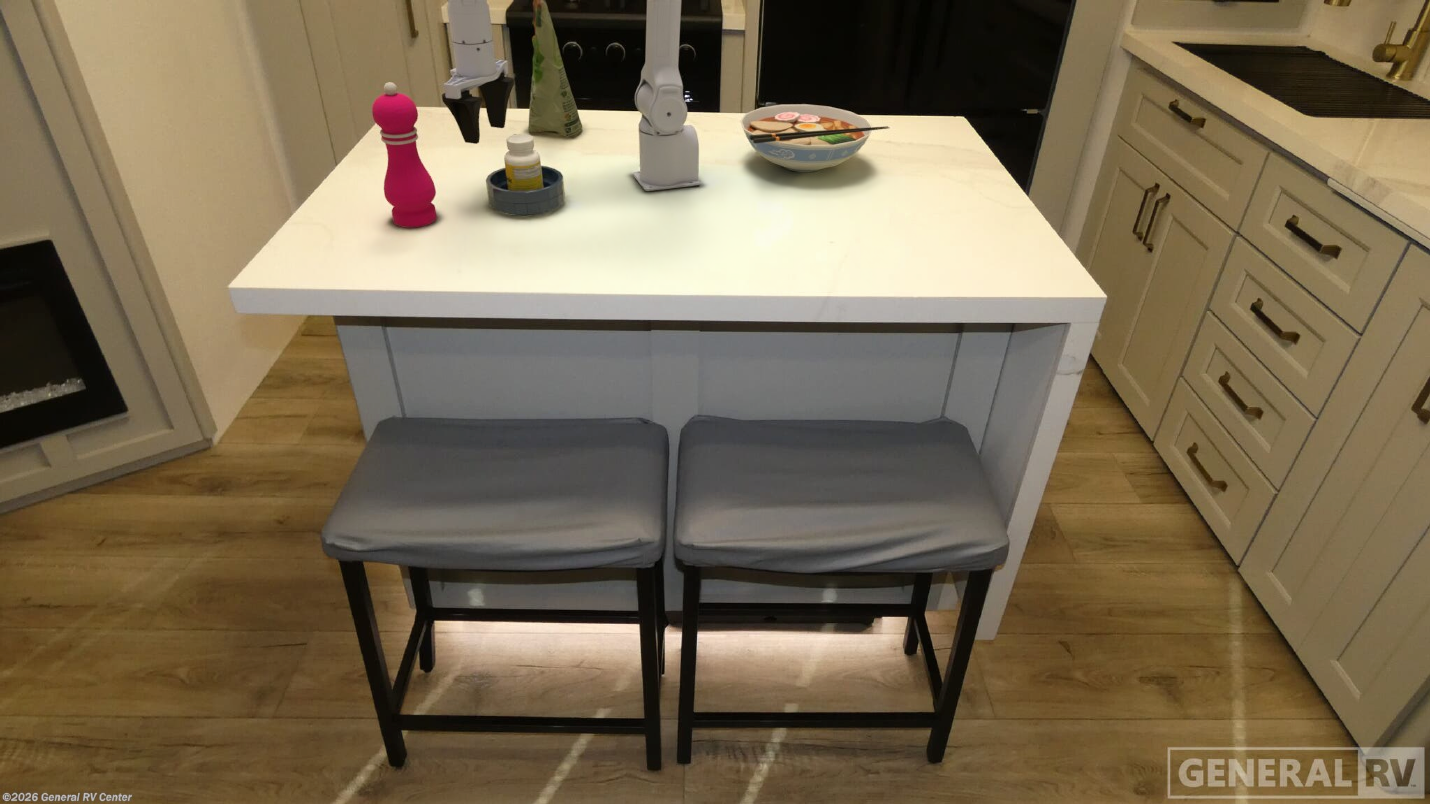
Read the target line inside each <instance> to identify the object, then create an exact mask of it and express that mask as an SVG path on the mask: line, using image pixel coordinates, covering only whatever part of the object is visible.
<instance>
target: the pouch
mask: <svg viewBox="0 0 1430 804" xmlns="http://www.w3.org/2000/svg"><path fill="white" fill-rule="evenodd" d="M532 11H533V18H532V22H531V24H532V25H533V27H534V35H533V36H532V37H531V41H532V47H533V55H532V59H531V60H532V76H531V82H530V83H531V85H530V86H531V87H530V100H529V108H528V109H529V110H528V112H529V113H528V127H527V128H528V129H527V130H528V132H529V133H535V132H536V133H537V132H542V133H550V134H556V135H557V134H559V135H562V136H563V137H571V136H574V135H577V134H579V133H580V132H581V131H582V129H583V124H582V120H581V118H580V115H579V111H578V107H577V105H576V101H575V98H574V95H573V92H572V90H571V85H570V83H569V79H568V77H567V73H566V70H565V66H564V62H563V59H562V56H561V51H560V48H559V43H558V37H557V35H556V31H555V29H554V24H553V21H552V18H551V14H550V12H549V8H548V4H547V1H546V0H533V1H532Z"/></svg>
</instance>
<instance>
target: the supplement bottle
mask: <svg viewBox="0 0 1430 804" xmlns="http://www.w3.org/2000/svg"><path fill="white" fill-rule="evenodd" d="M505 141H506V148H507V150H508V151H507V152H505V154H504V158H503V160H504V168H505V169H506V177H507V184H508V190H511V191H530V190H537V189H542V188H543V179H542V170H541V166H542V163H541V155H540V153H539V151H538V150H536V149H534V148H535V140H534V137H533V136H532V135H530V134H525V133H517V134H513V135H509V136H508V137H506V140H505Z"/></svg>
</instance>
